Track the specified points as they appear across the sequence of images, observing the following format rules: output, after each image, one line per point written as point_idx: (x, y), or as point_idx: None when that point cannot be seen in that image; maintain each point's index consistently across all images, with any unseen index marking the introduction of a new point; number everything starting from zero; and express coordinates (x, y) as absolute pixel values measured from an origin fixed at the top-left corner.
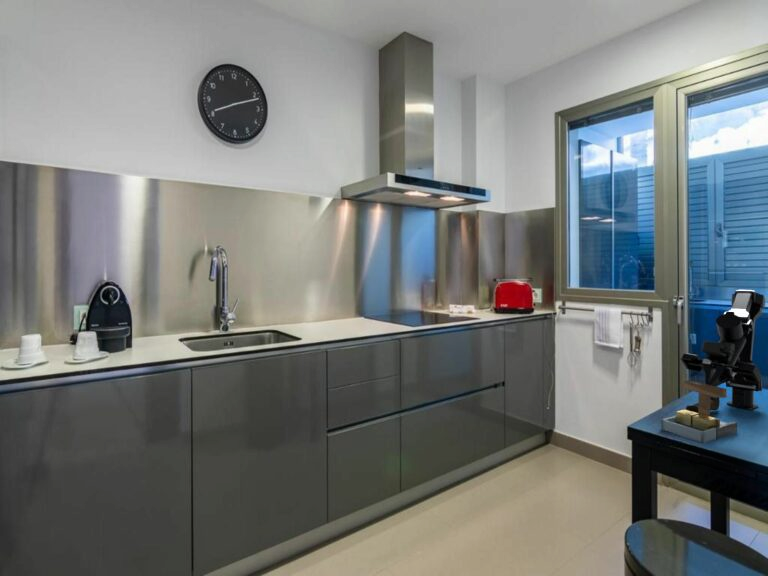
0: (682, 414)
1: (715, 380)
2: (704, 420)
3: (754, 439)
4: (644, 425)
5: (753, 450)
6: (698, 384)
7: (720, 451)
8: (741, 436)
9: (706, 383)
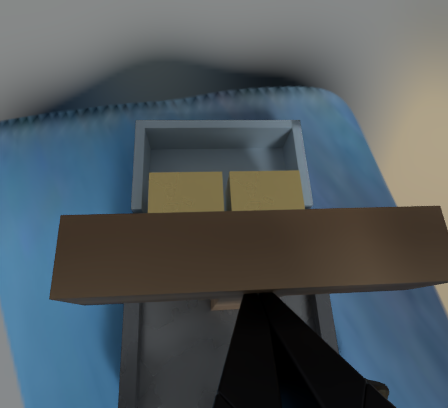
0: (268, 174)
1: (219, 394)
2: (166, 173)
3: (47, 383)
4: (339, 132)
5: (11, 234)
6: (302, 210)
7: (79, 127)
8: (97, 367)
9: (289, 320)
